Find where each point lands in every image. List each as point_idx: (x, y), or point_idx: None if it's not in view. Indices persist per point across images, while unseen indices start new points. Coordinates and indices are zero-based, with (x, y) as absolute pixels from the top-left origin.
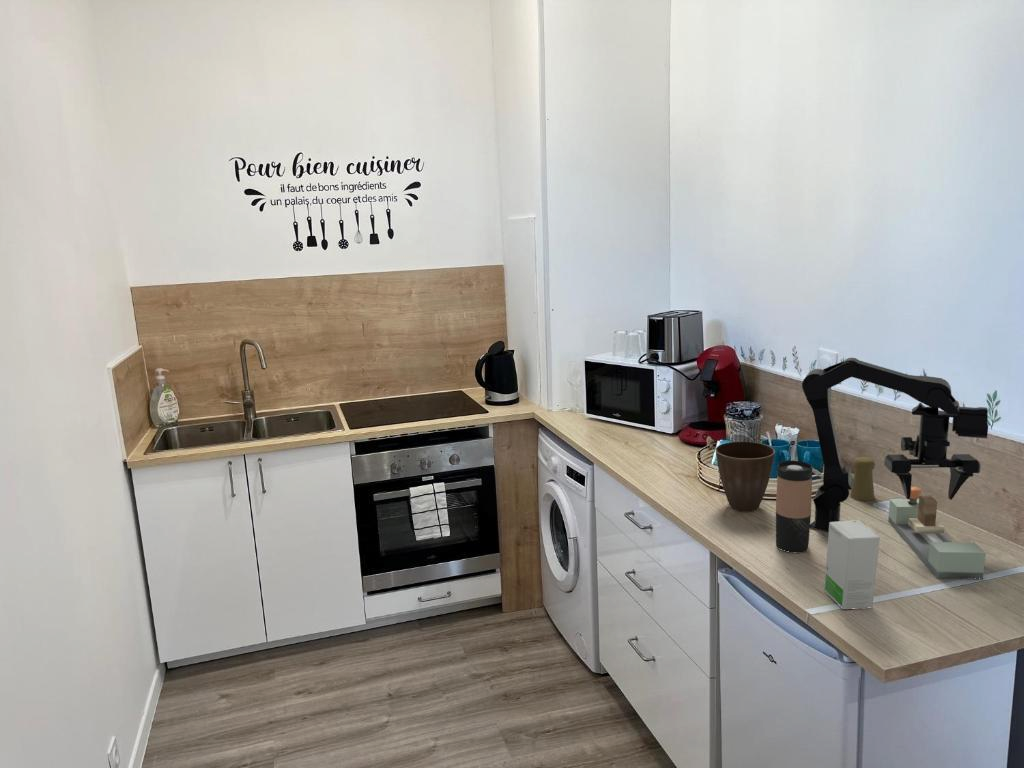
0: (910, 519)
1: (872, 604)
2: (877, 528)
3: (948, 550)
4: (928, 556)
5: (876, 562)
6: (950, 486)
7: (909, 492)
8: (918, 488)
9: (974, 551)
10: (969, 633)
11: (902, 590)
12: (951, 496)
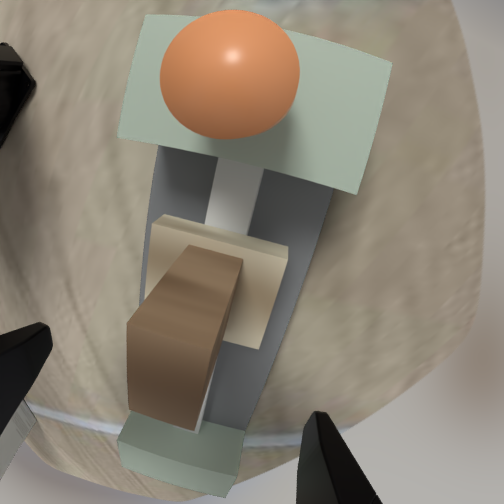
0: (152, 241)
1: (33, 424)
2: (116, 108)
3: (145, 471)
4: None
5: (5, 469)
6: (320, 495)
7: (20, 392)
8: (277, 72)
9: (203, 490)
10: (130, 485)
11: (75, 415)
12: (301, 455)
